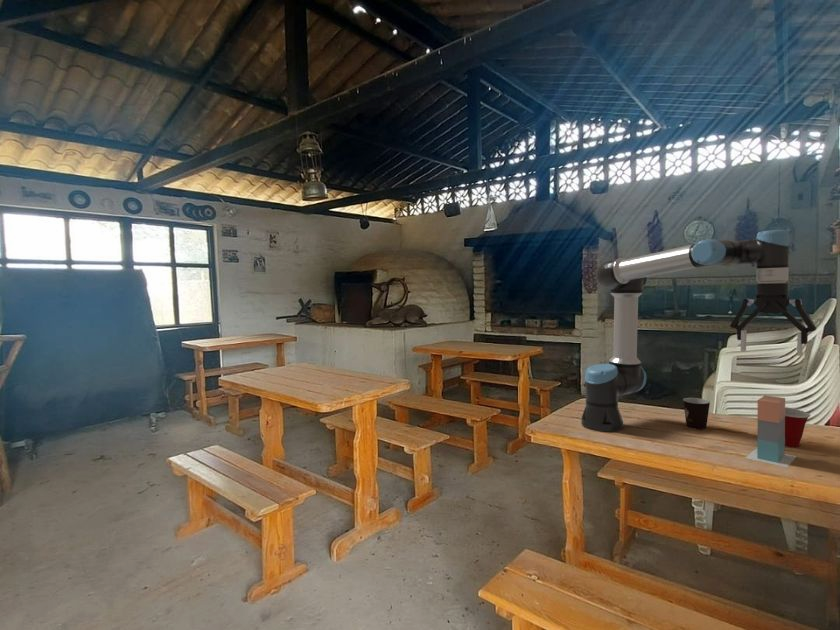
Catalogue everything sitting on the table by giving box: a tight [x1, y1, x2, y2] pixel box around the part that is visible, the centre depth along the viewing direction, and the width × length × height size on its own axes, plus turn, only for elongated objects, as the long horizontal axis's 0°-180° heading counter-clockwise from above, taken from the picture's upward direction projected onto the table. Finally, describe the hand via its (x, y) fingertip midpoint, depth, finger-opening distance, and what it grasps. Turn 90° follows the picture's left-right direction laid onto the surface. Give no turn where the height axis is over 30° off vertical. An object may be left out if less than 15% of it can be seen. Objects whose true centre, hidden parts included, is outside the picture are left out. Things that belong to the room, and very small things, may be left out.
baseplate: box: [745, 447, 797, 468], centre depth 135 cm, size 10×12×1 cm
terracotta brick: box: [756, 395, 786, 423], centre depth 134 cm, size 5×8×6 cm, turn 129°
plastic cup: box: [785, 406, 812, 448], centre depth 144 cm, size 11×11×12 cm
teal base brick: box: [756, 437, 786, 463], centre depth 134 cm, size 5×8×6 cm, turn 129°
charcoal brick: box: [757, 418, 785, 443], centre depth 134 cm, size 5×8×6 cm, turn 130°
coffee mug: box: [682, 397, 711, 430], centre depth 168 cm, size 12×9×10 cm
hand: (770, 353), depth 133 cm, fingers open, 13 cm apart
